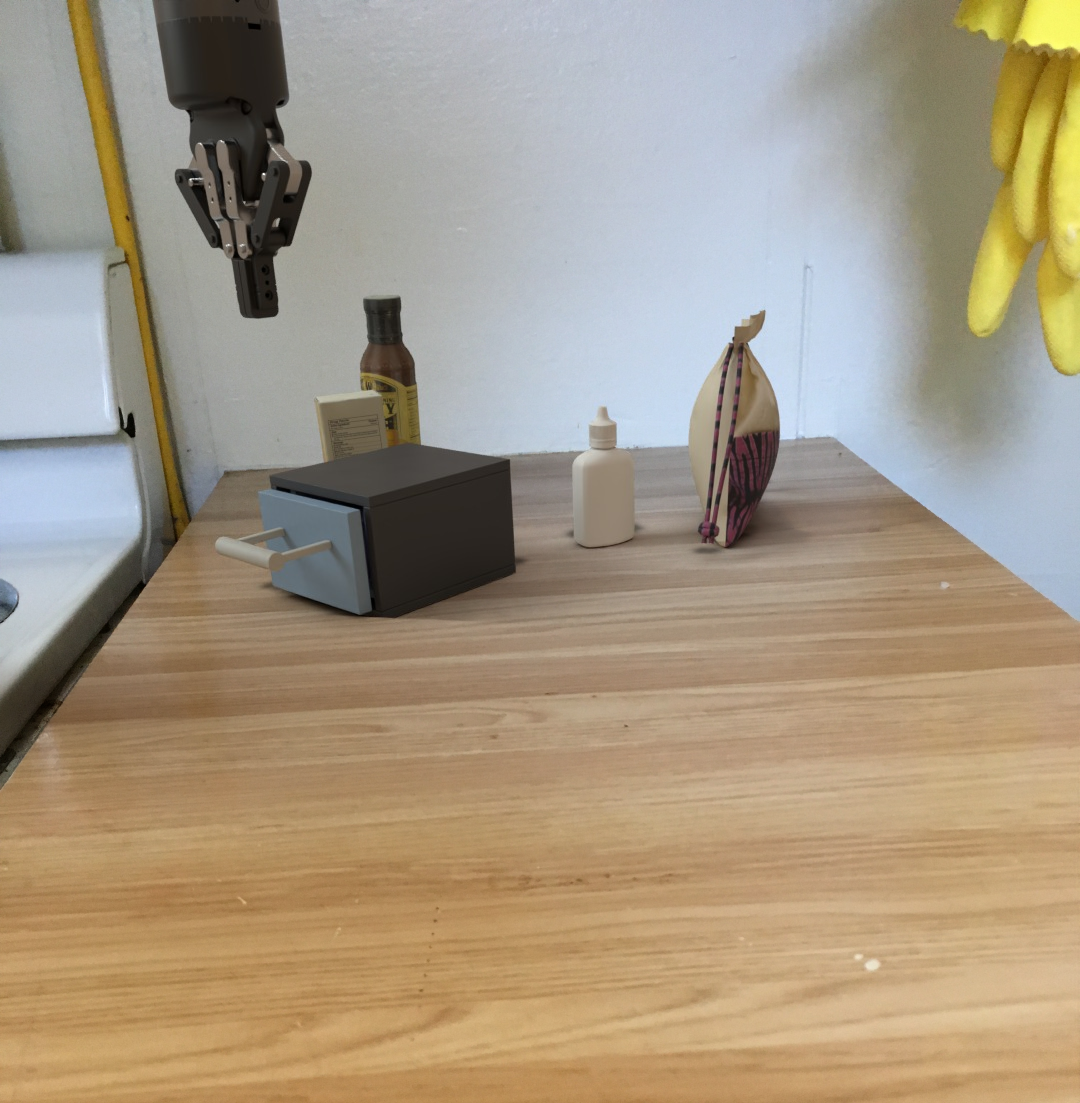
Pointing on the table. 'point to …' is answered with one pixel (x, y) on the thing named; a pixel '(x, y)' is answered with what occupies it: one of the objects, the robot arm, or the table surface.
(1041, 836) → the table surface
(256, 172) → the robot arm
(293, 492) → the blue drawer
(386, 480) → the drawer cabinet
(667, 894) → the table surface
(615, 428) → the eye dropper bottle
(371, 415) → the cosmetic box
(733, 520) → the pouch
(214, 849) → the table surface
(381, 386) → the sauce bottle
